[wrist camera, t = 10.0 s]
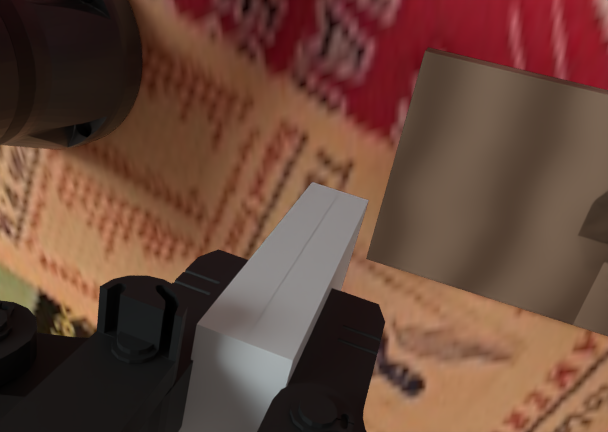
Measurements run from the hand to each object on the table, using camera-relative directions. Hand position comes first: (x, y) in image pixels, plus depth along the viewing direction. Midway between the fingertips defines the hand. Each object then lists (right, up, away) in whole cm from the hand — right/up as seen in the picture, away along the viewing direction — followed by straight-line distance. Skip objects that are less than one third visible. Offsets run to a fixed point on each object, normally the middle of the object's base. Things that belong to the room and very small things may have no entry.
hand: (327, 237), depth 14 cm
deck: (+16, +2, +20) cm, 26 cm away
